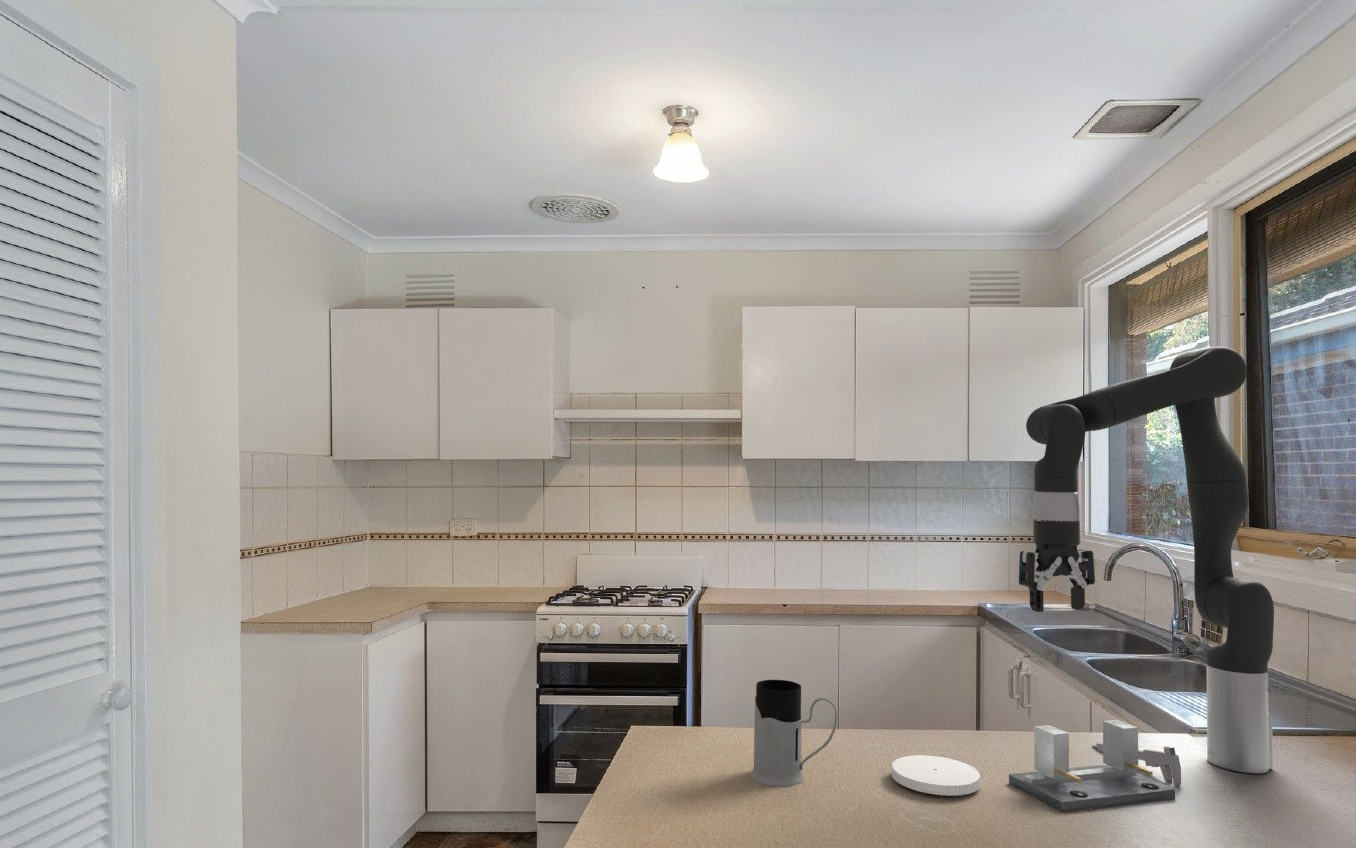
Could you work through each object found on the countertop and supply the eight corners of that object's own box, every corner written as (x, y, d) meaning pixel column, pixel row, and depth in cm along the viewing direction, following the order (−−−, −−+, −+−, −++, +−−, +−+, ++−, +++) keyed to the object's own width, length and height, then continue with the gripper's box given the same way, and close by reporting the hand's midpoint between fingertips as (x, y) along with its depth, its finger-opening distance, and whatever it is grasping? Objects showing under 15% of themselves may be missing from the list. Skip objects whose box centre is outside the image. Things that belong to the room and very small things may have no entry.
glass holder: (758, 764, 146) (759, 676, 147) (840, 776, 141) (841, 685, 142) (744, 781, 138) (746, 688, 138) (832, 794, 133) (833, 698, 134)
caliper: (1181, 788, 140) (1181, 750, 140) (1175, 789, 140) (1175, 750, 140) (1096, 748, 160) (1096, 714, 160) (1091, 748, 159) (1091, 714, 160)
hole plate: (1116, 772, 146) (1116, 759, 146) (1175, 799, 134) (1175, 784, 134) (1008, 783, 139) (1009, 769, 140) (1061, 812, 128) (1061, 796, 128)
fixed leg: (1117, 761, 144) (1117, 719, 144) (1158, 779, 136) (1158, 735, 136) (1103, 762, 143) (1103, 720, 143) (1143, 780, 135) (1143, 736, 135)
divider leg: (1049, 768, 140) (1049, 725, 140) (1087, 786, 132) (1087, 741, 132) (1034, 769, 139) (1034, 726, 139) (1071, 788, 131) (1071, 742, 131)
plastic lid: (913, 803, 131) (913, 787, 131) (878, 771, 145) (878, 756, 145) (997, 800, 133) (997, 784, 133) (955, 769, 147) (955, 754, 147)
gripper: (1073, 516, 155) (1074, 605, 154) (1008, 516, 150) (1009, 608, 149) (1105, 518, 147) (1106, 612, 147) (1037, 519, 143) (1039, 615, 142)
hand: (1057, 610), depth 148 cm, fingers open, 8 cm apart
